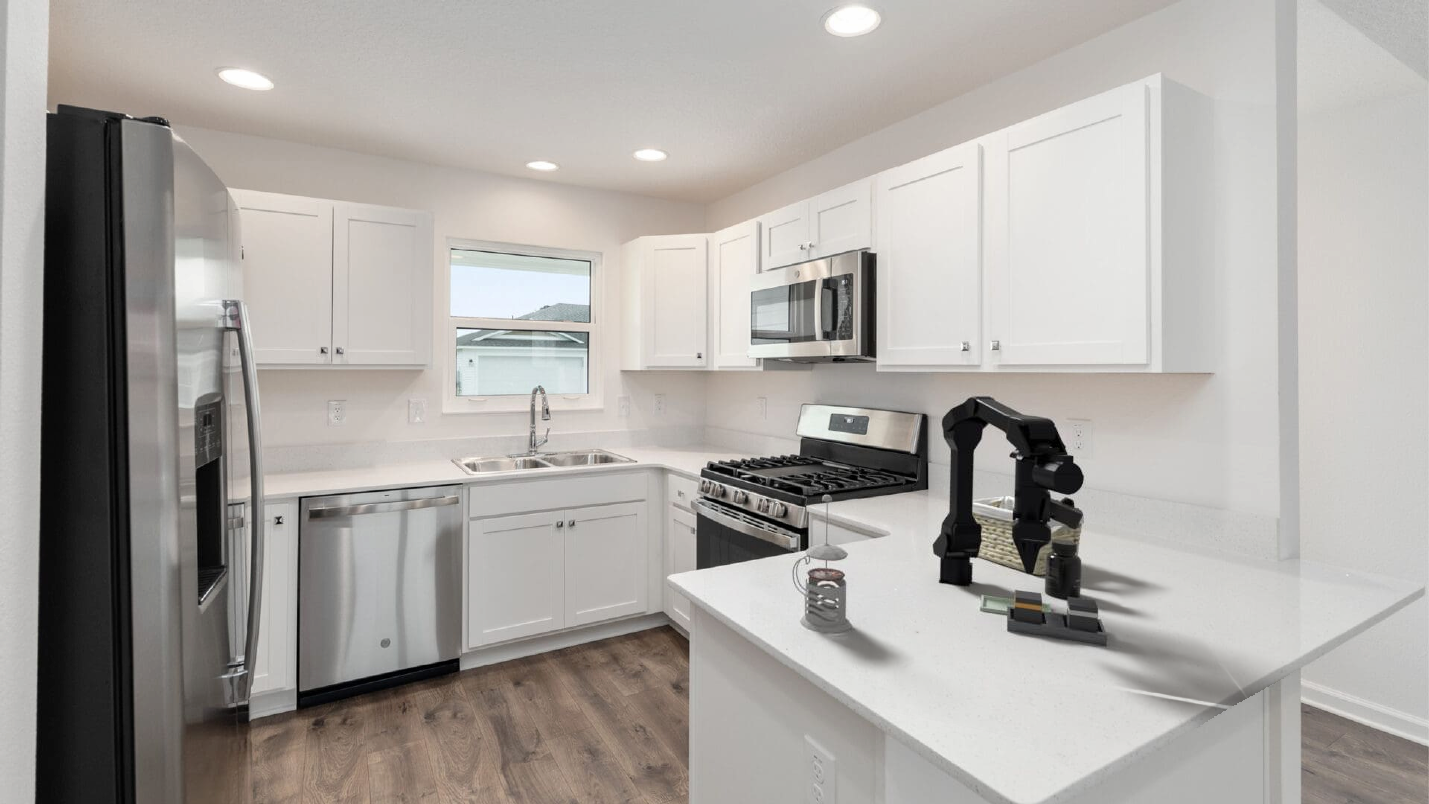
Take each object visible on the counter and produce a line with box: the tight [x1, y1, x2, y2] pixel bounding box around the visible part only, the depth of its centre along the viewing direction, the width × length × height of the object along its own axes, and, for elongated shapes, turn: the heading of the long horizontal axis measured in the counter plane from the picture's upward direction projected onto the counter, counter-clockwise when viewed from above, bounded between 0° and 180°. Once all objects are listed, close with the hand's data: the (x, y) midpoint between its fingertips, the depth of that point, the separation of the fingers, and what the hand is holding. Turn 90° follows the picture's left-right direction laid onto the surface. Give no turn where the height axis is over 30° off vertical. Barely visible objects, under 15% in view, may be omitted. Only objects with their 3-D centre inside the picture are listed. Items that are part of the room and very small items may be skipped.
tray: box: [979, 594, 1052, 616], centre depth 133 cm, size 13×8×1 cm, turn 66°
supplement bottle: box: [1044, 540, 1082, 601], centre depth 142 cm, size 7×7×12 cm
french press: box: [791, 494, 852, 634], centre depth 126 cm, size 10×12×25 cm
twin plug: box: [1066, 597, 1099, 632], centre depth 120 cm, size 5×5×6 cm
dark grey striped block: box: [1014, 589, 1043, 623], centre depth 124 cm, size 5×5×6 cm
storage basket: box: [973, 495, 1085, 576], centre depth 168 cm, size 24×16×15 cm
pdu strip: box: [1006, 606, 1108, 647], centre depth 122 cm, size 16×8×2 cm, turn 66°
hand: (1029, 566), depth 124 cm, fingers open, 9 cm apart
